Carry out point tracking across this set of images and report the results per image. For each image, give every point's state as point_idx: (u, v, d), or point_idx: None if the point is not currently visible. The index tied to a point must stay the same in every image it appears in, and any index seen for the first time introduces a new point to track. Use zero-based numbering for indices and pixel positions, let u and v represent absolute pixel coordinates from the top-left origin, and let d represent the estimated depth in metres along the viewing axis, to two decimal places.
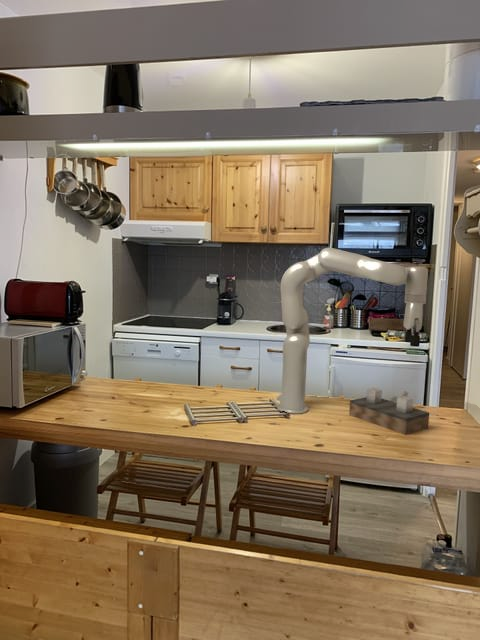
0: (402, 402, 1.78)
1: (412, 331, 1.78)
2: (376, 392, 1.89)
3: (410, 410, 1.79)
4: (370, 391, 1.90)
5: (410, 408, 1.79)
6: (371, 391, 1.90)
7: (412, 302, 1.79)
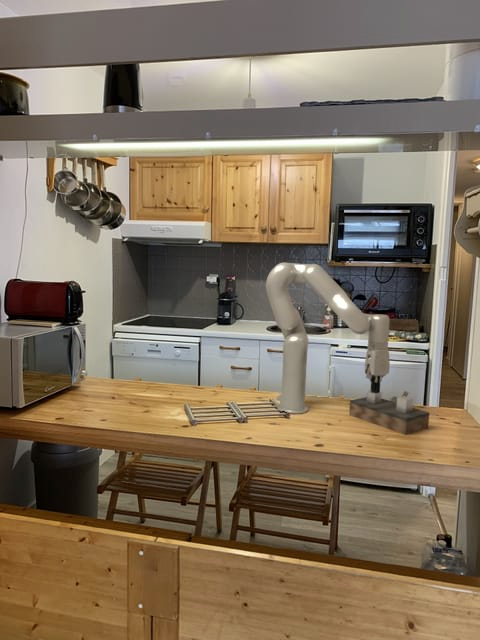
0: (402, 402, 1.78)
1: (381, 378, 1.91)
2: (376, 394, 1.89)
3: (410, 410, 1.79)
4: (370, 393, 1.90)
5: (410, 408, 1.79)
6: (371, 393, 1.90)
7: None
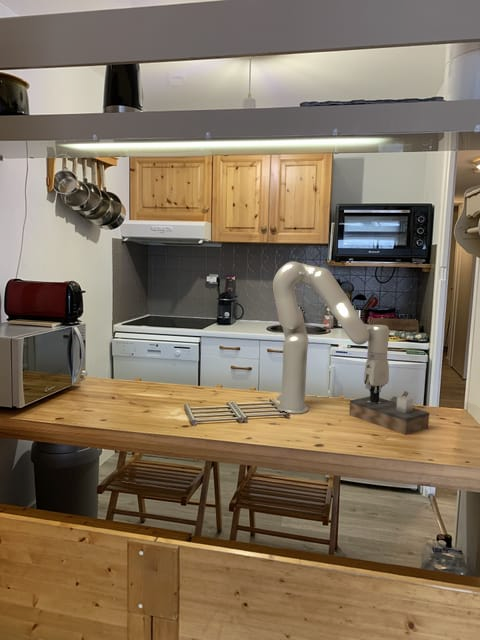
0: (402, 402, 1.78)
1: (380, 389, 1.91)
2: None
3: (410, 410, 1.79)
4: None
5: (410, 408, 1.79)
6: None
7: None
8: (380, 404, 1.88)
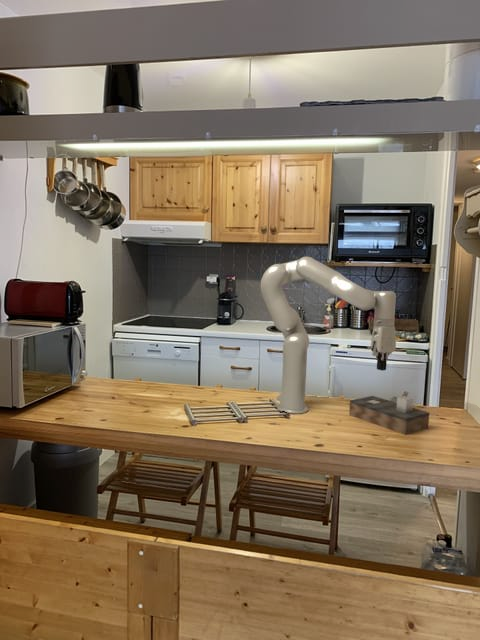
0: (402, 402, 1.78)
1: (387, 356, 1.88)
2: None
3: (410, 410, 1.79)
4: None
5: (410, 408, 1.79)
6: None
7: None
8: (380, 404, 1.88)
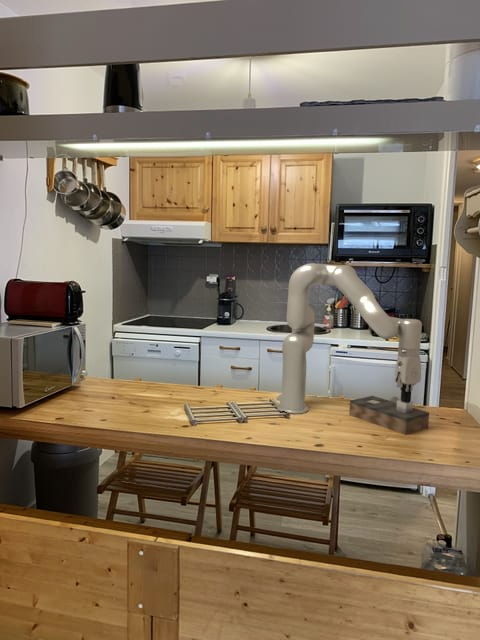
0: (402, 405, 1.79)
1: (412, 387, 1.79)
2: None
3: None
4: None
5: (410, 411, 1.79)
6: None
7: None
8: (380, 404, 1.88)
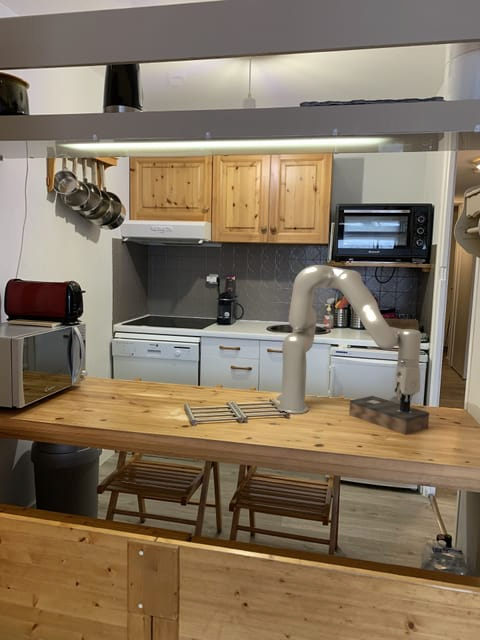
0: None
1: (411, 397, 1.80)
2: None
3: None
4: None
5: None
6: None
7: None
8: (380, 404, 1.88)
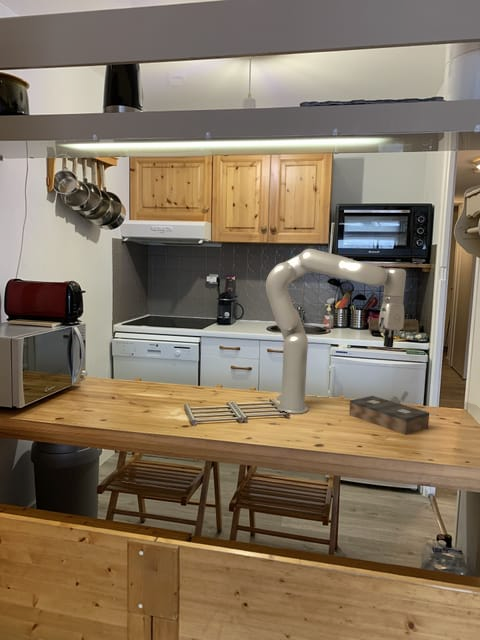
0: None
1: None
2: None
3: None
4: None
5: None
6: None
7: None
8: (380, 404, 1.88)
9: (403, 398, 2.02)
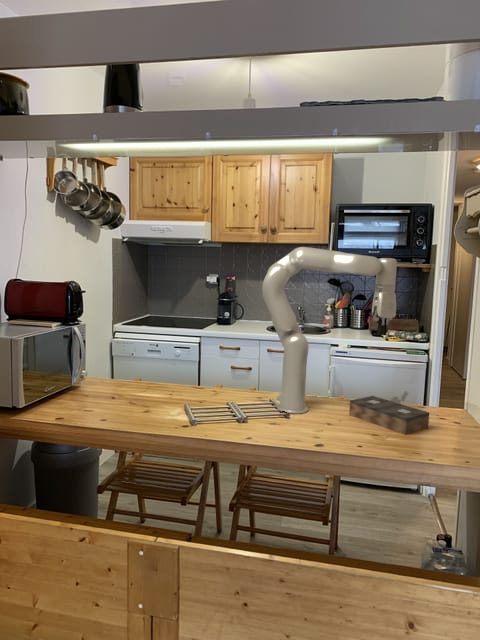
0: None
1: None
2: None
3: None
4: None
5: None
6: None
7: None
8: (380, 404, 1.88)
9: (403, 398, 2.02)
